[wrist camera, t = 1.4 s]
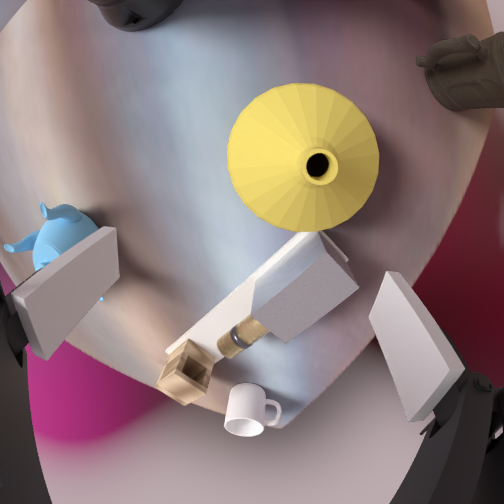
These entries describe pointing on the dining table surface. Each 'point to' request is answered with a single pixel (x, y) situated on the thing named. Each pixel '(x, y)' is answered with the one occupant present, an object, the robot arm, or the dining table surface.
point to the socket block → (186, 373)
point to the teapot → (55, 234)
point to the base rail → (234, 306)
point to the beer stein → (466, 72)
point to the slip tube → (241, 337)
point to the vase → (303, 157)
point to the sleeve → (302, 287)
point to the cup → (248, 410)
